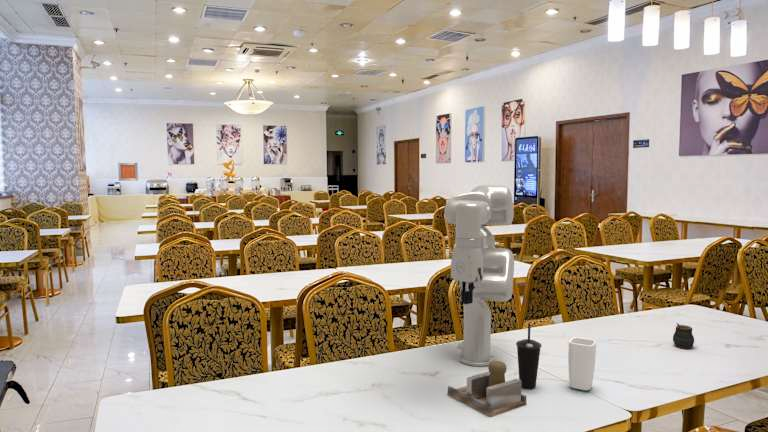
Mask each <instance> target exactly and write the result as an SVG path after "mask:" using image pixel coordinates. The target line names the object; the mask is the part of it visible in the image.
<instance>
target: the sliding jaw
mask: <svg viewBox="0 0 768 432" xmlns="http://www.w3.org/2000/svg"><path fill="white" fill-rule="evenodd" d="M489 377H490V372H489V371H485V372H482V373H479V374H475V375H471V376H468V377H466V386H467V395H469V396H471V397H473V398H475V399H476V398H479V397H482V396H485V395H486V389H487V387H488V383H489Z"/></svg>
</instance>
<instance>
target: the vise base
mask: <svg viewBox="0 0 768 432" xmlns="http://www.w3.org/2000/svg"><path fill="white" fill-rule="evenodd" d="M521 382H522V381H521V380H519V378H515V379H511V380H507V381H505V382H504V383H500V384H497V385H494V386H490V387H487V389H486V395H485V396H482V397H479V398H476V399H475V398H473V397H471V396H469V395H467V385H465V386H461V387H458V388H455V387H453V386H451V385H448V386H447V395H448V396H449V397H451V398H453V399H456V400H457V401H458V402H461V403H463V404H464V405H466V406H468V407H471V408H472V409H474V410H476V411H479V412H480V413H482V414H485V415H486V416H488V417H491V418H492V417H495V416H497V415H500V414H503V413H506V412H509V411H512V410H514V409H517V408H520V407H523V406H526V405H527V395H524V394H522V387H521Z"/></svg>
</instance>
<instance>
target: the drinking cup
mask: <svg viewBox="0 0 768 432" xmlns="http://www.w3.org/2000/svg"><path fill="white" fill-rule="evenodd" d="M527 324H528V325H527V326H528V327H527V338H525V339H524V338H523V339H521V340H518V341H516V343H515V345H516V349H517V365H518V367H517V368H518V377H519V378H518V380H521V381H522V382H521V389H524V390H534V389H535V388H536V385H537V378H538V371H539V370H538V369H539V361H540V354H541V348H542V346H543V345H542V343H540V342H538V341H536V340H534V339H531V323H527Z"/></svg>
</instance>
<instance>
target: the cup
mask: <svg viewBox="0 0 768 432" xmlns="http://www.w3.org/2000/svg"><path fill="white" fill-rule="evenodd" d="M596 352H597V341H596V340H594V339H591V338H586V337H579V336H574V337H571V339H569V340H568V379H569V381H568V382H569V387H571V388H572V389H574V390H578V391H583V392H588V391H590V390H591V388H592V386H593V381H594V376H595V375H594V374H595V366H596V354H597V353H596Z"/></svg>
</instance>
